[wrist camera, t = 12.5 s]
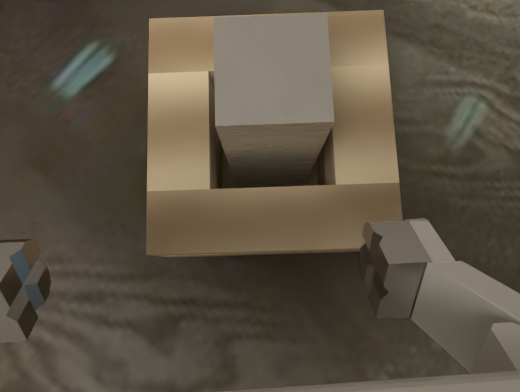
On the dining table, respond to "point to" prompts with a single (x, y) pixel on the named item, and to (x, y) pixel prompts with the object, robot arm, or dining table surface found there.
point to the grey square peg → (272, 95)
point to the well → (267, 198)
